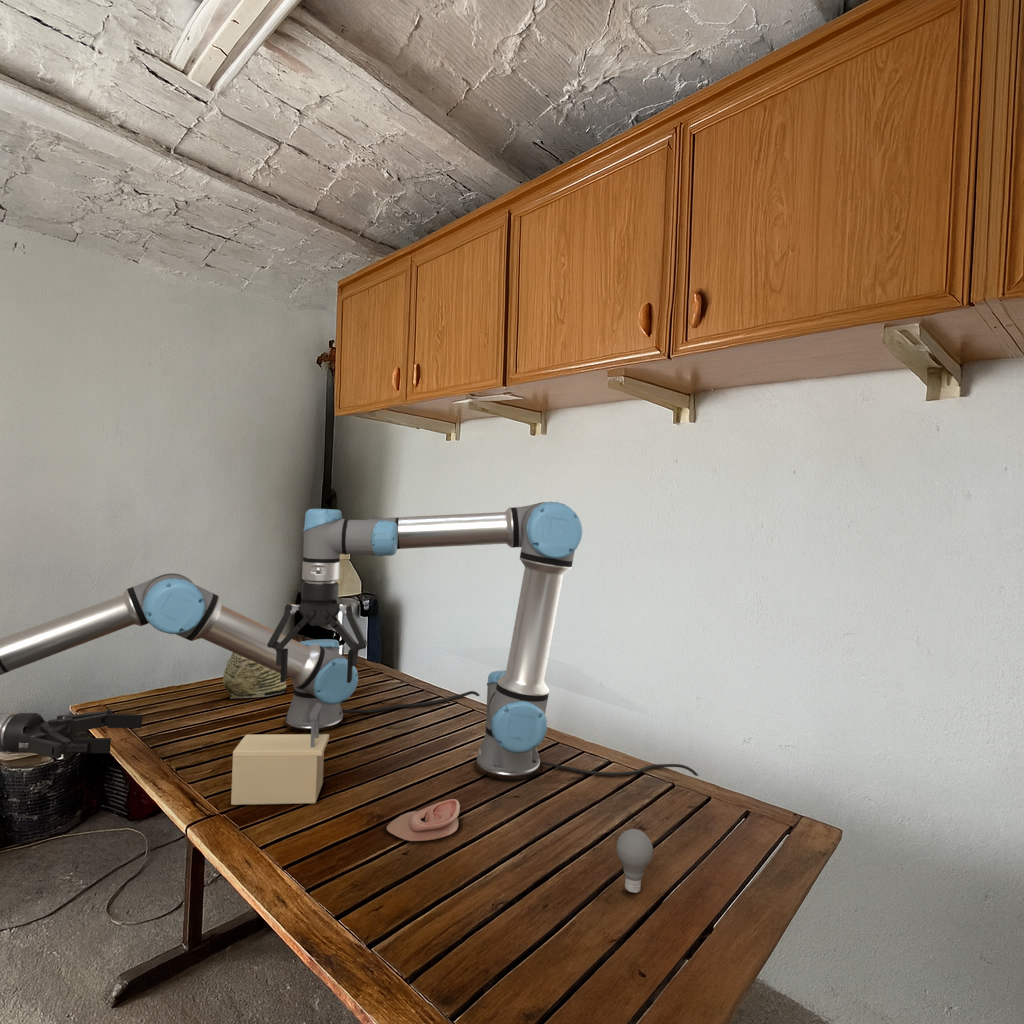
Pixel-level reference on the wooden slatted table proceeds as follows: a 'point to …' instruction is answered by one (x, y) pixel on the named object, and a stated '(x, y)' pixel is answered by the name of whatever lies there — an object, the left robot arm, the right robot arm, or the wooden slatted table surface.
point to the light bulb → (634, 857)
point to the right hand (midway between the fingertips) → (316, 681)
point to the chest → (276, 779)
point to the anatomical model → (427, 822)
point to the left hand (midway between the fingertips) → (126, 732)
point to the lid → (286, 742)
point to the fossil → (251, 679)
